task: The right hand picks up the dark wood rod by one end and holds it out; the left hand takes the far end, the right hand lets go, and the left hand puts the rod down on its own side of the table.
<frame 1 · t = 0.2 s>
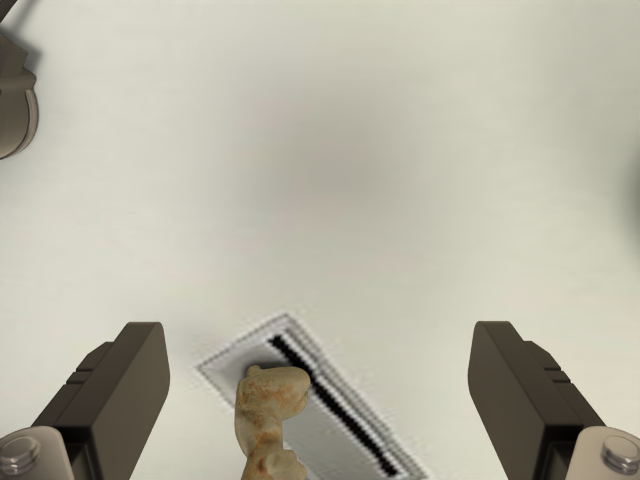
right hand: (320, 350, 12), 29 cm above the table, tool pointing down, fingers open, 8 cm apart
sculpture: (275, 377, 48), on the table
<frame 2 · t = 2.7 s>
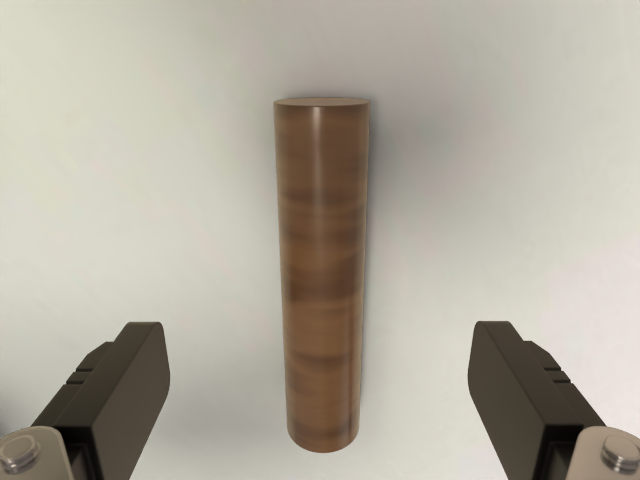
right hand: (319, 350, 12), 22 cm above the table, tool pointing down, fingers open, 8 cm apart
rod: (322, 268, 35), on the table
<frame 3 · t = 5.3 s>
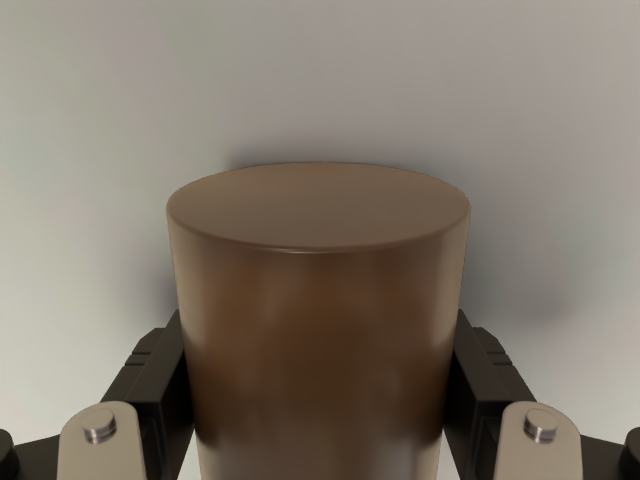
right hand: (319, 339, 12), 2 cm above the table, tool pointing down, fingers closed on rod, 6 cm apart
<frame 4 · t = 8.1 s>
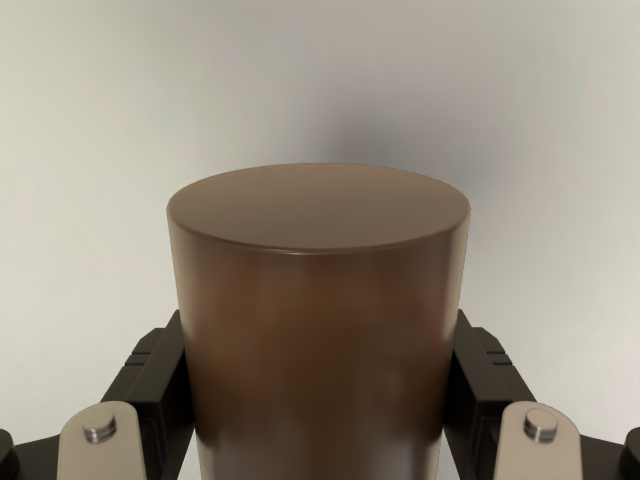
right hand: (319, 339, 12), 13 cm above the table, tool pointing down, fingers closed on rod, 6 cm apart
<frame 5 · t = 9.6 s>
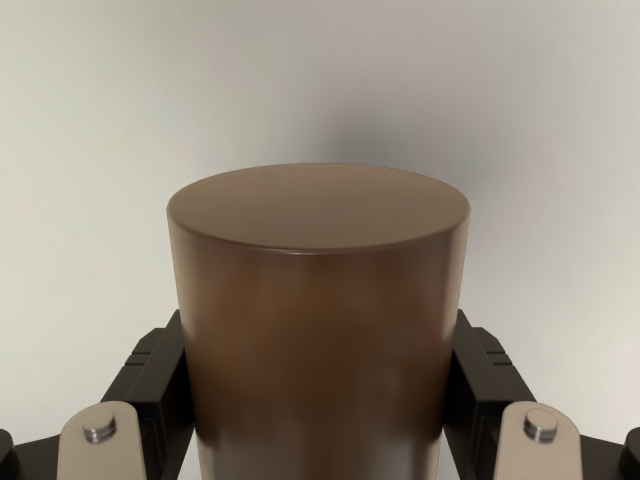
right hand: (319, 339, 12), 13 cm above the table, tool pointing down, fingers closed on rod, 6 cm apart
when the right hand's fingers open (13 cm above the table, at t = 10.7 s): rod stays where it is, held by the left hand.
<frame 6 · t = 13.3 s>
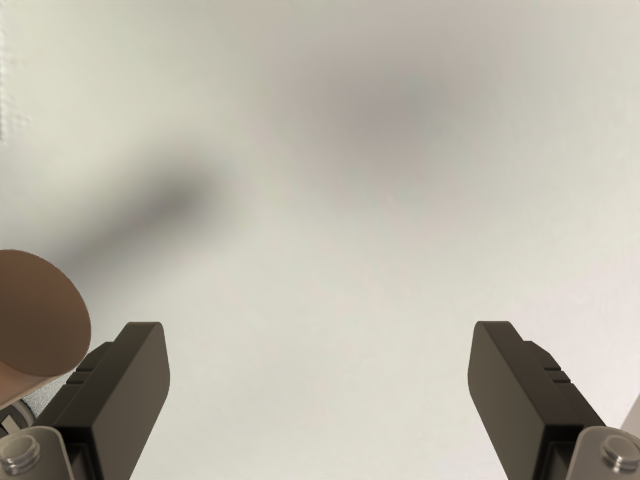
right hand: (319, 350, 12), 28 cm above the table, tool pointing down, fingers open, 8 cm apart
when the left hand's fingers open (3 cm above the table, at t = 17.4 s): rod drops 2 cm, on the table.
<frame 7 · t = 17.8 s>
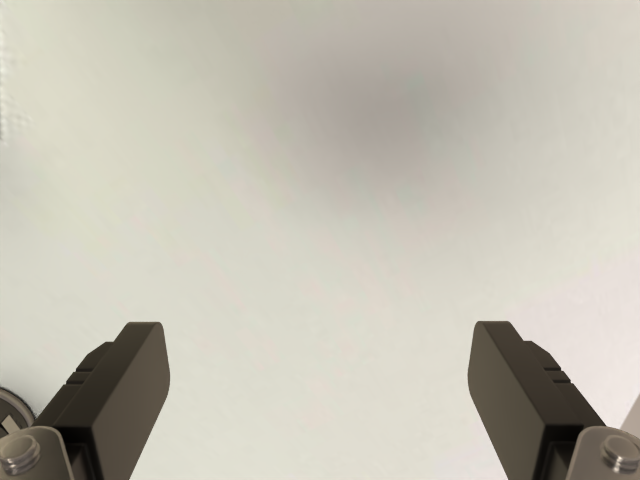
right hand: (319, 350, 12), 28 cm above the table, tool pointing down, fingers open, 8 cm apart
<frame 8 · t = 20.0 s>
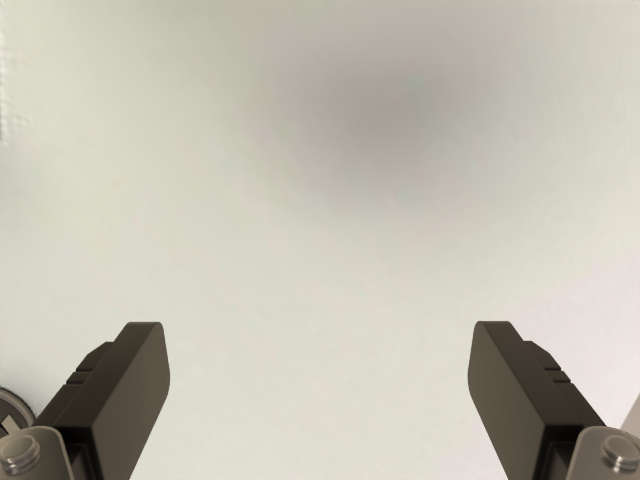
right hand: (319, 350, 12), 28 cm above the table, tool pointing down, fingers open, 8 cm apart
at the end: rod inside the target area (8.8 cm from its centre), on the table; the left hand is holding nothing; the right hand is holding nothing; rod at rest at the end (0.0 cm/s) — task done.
